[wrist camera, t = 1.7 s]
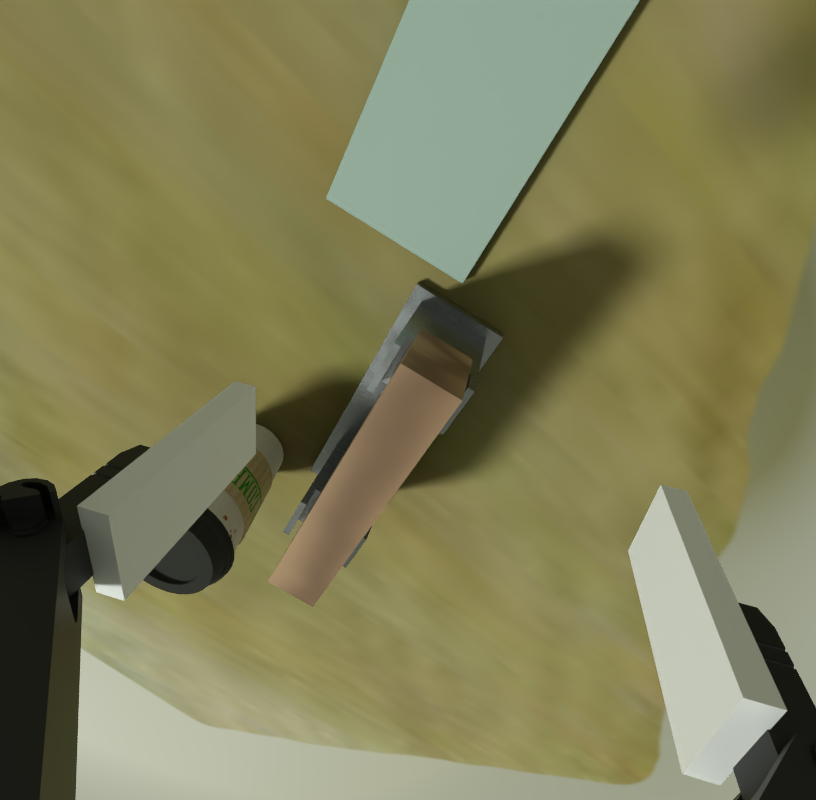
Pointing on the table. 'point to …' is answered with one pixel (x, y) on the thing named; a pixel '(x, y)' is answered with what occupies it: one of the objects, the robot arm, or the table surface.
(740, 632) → the robot arm
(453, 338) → the standards
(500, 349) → the table surface
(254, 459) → the coffee cup
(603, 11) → the mat
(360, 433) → the rail
